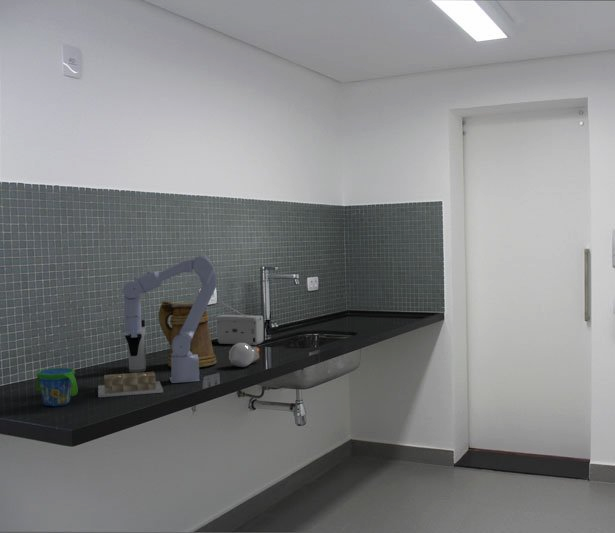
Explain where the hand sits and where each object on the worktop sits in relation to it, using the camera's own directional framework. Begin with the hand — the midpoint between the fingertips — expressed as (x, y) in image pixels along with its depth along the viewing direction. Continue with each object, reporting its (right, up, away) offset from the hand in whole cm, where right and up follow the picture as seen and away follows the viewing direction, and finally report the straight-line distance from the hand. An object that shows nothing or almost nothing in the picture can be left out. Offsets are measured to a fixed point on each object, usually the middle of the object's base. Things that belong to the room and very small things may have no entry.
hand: (133, 355), depth 247 cm
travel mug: (-4, -9, +22) cm, 24 cm away
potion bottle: (+35, -8, +30) cm, 47 cm away
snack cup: (-16, -11, -29) cm, 35 cm away
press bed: (+2, -10, -12) cm, 15 cm away
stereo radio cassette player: (+28, -5, +86) cm, 90 cm away
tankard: (+12, -8, +33) cm, 36 cm away
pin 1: (-2, -9, -13) cm, 16 cm away
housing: (+2, -10, -12) cm, 15 cm away
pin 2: (+5, -8, -11) cm, 15 cm away
